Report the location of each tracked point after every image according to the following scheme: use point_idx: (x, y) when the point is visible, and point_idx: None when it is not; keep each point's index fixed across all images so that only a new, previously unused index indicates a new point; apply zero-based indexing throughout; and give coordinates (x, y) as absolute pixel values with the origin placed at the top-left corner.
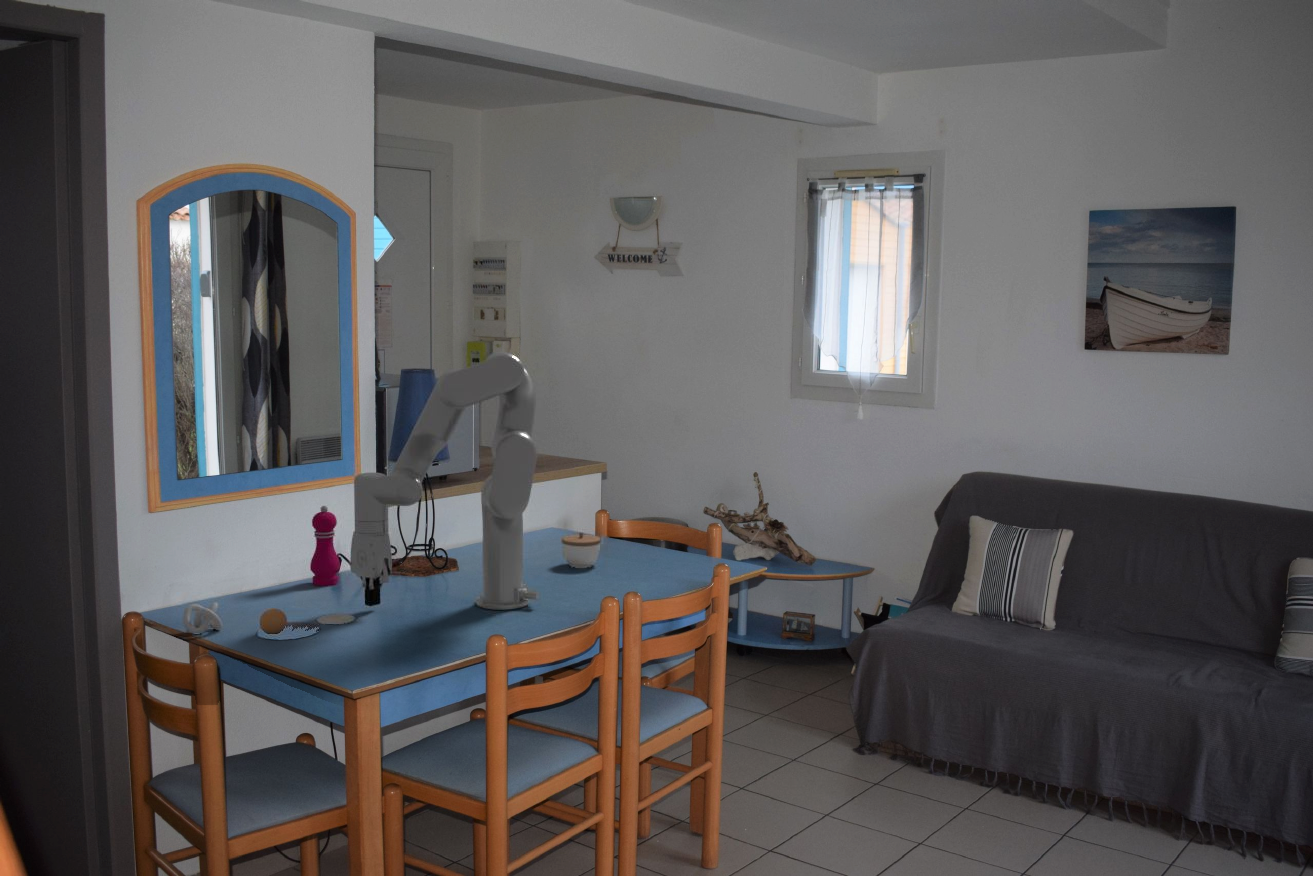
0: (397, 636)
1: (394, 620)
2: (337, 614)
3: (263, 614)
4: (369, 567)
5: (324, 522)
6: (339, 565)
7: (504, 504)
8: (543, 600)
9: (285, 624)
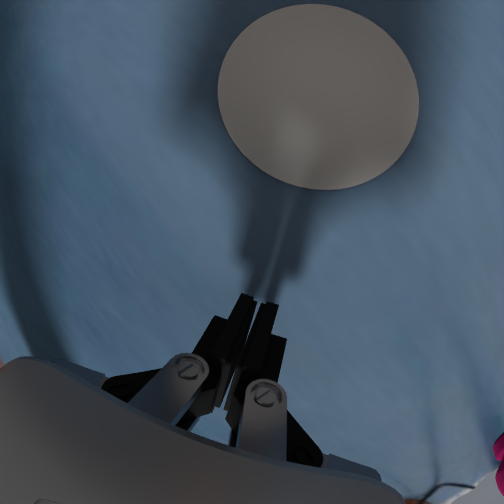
0: (16, 98)
1: (95, 222)
2: (373, 167)
3: None
4: (16, 450)
5: None
6: (497, 480)
7: None
8: None
9: None
